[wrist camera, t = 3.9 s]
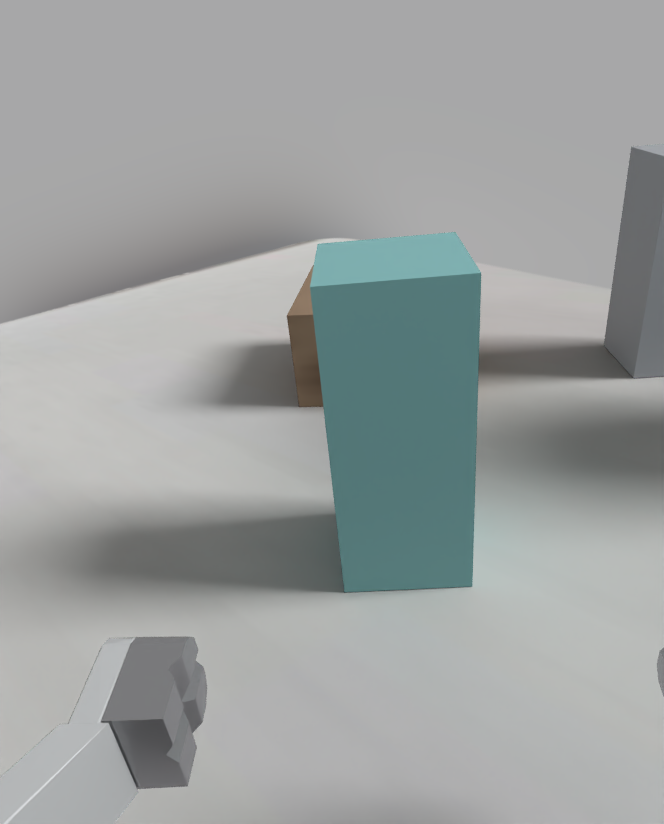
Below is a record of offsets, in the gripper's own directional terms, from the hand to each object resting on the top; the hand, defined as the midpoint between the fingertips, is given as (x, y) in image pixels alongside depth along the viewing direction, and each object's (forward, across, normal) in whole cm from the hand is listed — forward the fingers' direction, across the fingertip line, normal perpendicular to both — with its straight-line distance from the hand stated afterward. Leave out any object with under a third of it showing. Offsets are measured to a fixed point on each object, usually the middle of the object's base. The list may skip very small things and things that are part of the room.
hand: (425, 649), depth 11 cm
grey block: (+22, -14, +6) cm, 26 cm away
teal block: (+9, 0, +6) cm, 10 cm away
